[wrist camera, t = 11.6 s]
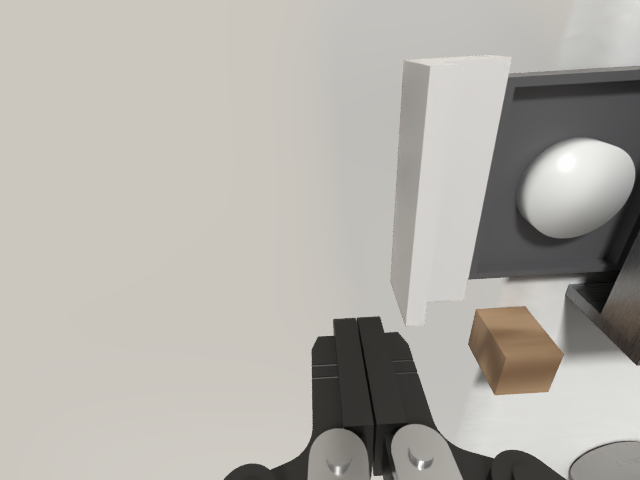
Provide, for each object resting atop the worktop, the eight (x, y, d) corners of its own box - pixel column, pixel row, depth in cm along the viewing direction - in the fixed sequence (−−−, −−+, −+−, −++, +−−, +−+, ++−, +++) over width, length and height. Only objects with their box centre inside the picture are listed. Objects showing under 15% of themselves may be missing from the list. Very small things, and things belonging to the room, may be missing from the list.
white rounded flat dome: (593, 225, 24) (611, 236, 22) (505, 228, 24) (517, 240, 22) (630, 135, 21) (653, 142, 19) (529, 138, 21) (545, 145, 19)
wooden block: (514, 341, 30) (548, 391, 26) (468, 344, 30) (494, 395, 26) (525, 306, 28) (563, 354, 24) (475, 309, 28) (506, 357, 24)
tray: (624, 267, 27) (683, 310, 22) (390, 281, 27) (405, 326, 22) (729, 40, 19) (847, 40, 15) (403, 60, 19) (430, 66, 15)
